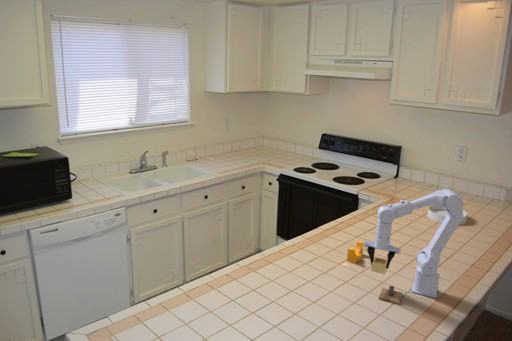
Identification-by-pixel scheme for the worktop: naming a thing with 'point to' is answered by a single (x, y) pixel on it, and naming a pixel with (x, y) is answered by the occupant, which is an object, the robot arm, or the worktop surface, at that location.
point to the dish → (442, 214)
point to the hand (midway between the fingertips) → (379, 265)
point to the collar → (379, 265)
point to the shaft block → (390, 295)
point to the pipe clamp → (355, 253)
